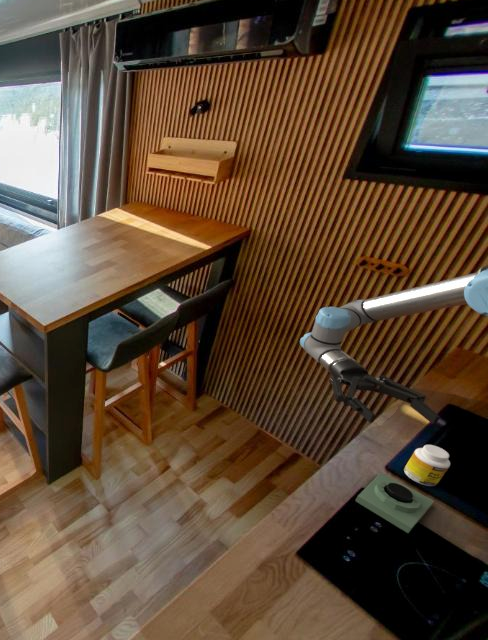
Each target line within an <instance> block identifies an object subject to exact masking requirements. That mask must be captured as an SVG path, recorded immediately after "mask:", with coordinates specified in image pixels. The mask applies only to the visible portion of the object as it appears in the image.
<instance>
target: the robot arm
mask: <svg viewBox="0 0 488 640" xmlns="http://www.w3.org/2000/svg"><path fill="white" fill-rule="evenodd" d="M464 305H468V306H469V307H470V308H471V309H472V310H474V311H475V312H476V313H478V314H480V315H484V316H486V317H488V265H484V266H481V267H480V268H479V270H478V271H476V272H473V273H468V274H464V275H461V276H460V275H459V276H456V277H452V278H448V279H445V280H440V281H437V282H432V283H428V284H424V285H420V286H415V287H412V288H411V287H410V288H407V289H403V290H399V291H396V292H391V293H387V294H383V295H379V296H375V297H371V298H370V297H369V298H367V299H357V300H353V301H350V302H348V303H346V304H344V305H342V306H340V307H336V306H324V307H322V308H320V309H319V311H318V313H317V314H316V316H315V320H314V324H313V327H312V330H311V332H307V333H305V334H304V335H303V336H301V338H300V340H299V344H300V346H301V347H302V349H303V350H304V351H305V352H306V353H307V355H309V356H311V357H312V359H314V360H315V361H316V362H317V363H319V364H320V365H321V366H322V367H323V368H324V369H325V370H326V371H327V372H328V373H330V374H331V375H330V378H329V380H328V383H329V384H330V385H331V386H332V392H333V397H334V401H335V402H337V403H342V405H344V406H346V407H350V408H351V409H352V410H353V411H355V412H358V413H359V414H360V415H361V416H362V417H363V418H364V419H365V420H366V421H367V422H368V423H374V421H375V420H376V417H377V415H376V414H375V413H374V412H373V411H372V410H371V409H369V407H367V406H366V405H365V404H364V403H363V402H362V401H361V400H360V399H359V398H358V397H354V395H355V392H356V390H357V391H360V392H364V391H369V392H374V393H377V394H383V395H386V396H389V397H392V398H394V399H397V400H399V401H403V402H404V403H407V404H410V405H409V407H411V408H412V409H413V410H415V411H416V412H417V413H418V414H419V415H421V416H422V417H423V418H424V419H426V420H427V421H428V422H429V423H430V424H432V425H437V424H438V422H439V420H440V419H441V416H440V415H439V414H437V413H436V412H435V411H434V410H433V409H432V408H431V407H430V406H429V405H428V404H427V403H425V401H426V398H427V396H426V395H424V394H422V393H420V392H418V391H416V390H414V389H411V388H409V387H408V386H405V385H403V384H401V383H399V382H396V381H395V380H392V379H391V378H390V377H388V376H386V375H384V374H382V375H380V376H379V377H375V376H373V375H371V374H369V372H368V370H367V369H366V367H364V366H363V365H362V364H360V363H359V361H357V360H356V359H354V358H353V357H352V356H351V355H349V354H348V353H347V352H345V350H343V349H342V348H341V345H342V343H343V341H344V337H345V335H346V333H348V332H350V331H352V330H354V329H356V328H358V327H360V326H362V325H366V324H371V323H376V322H381V321H385V320H390V319H391V320H392V319H396V318H400V317H406V316H411V315H416V314H422V313H426V312H427V313H428V312H431V311H438V310H442V309H448V308H453V307H458V306H464ZM342 384H343V385H345V386H347V387H348V390H347V393H346V395H344V392H343V388H342ZM377 385H378V387H377Z"/></svg>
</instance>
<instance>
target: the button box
mask: <svg viewBox="0 0 488 640" xmlns="http://www.w3.org/2000/svg"><path fill="white" fill-rule="evenodd" d="M389 483H396V484H400V485H402V486H404V487H406V488H407V489H409V490H410V491H411V492H412V494H413V498H412V499H411V501H410V502H409V503H403V502H399V501H397V500H395V499H393V498H392V497H390V496H389V495H388V494H387V493H386V491H385V489H386V487H387V485H388V484H389ZM354 501H355V502H356V503H358V504H359V505H361V506H363V507H364V508H365V509H367V510H369V511H370V512H372V513H374V514H376V515H377V516H379V517H381V518H382V519H384V520H385V521H387V522H388V523H390V524H392V525H393V526H395V527H396V528H398V529H400V530H402V531H403V532H405V533H407V534H409V533H410V532H411V531H412V530H413V528H415V526H416V525H417V524H418V522H419V521H420V520H421V519H422V518H423V517H424V515H425V514H426V513H427V512H428V510H429V509H430V508H431V507H432V505H433V504H434V503H435V500H433V499H431V498H430V497H427V496H426V495H424V494H422V493H420V492H418V491H417V490H415V489H413V488H411V487H410V486H407V485H405V484H404V483H402V482H400V481H398V480H396V479H394V478H392V477H391V476H389V475H388V474H387V475H386V474H385V473H383V472H379V473H378V474H377V476H375V478H374V479H372V481H370V482H369V484H368V485H367V486H366V487H365V488H364V489H363V490H362V491H361V492H360V493H359V494H358V495H357V497H356V498H355V500H354Z"/></svg>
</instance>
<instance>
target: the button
mask: <svg viewBox="0 0 488 640" xmlns="http://www.w3.org/2000/svg"><path fill="white" fill-rule="evenodd" d="M385 491H386V493H387V494H388V495H389V496H390V497H392V498H393V499H395V500H397V501H399V502H403V503H409V502H410V501H411V499H412V498H413V494H412V492H411V491H410V490H409V489H407V488H406V487H404V486H402V485H400V484H396V483H389V484H388V485H387V487H386V489H385Z"/></svg>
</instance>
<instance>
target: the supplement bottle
mask: <svg viewBox="0 0 488 640" xmlns="http://www.w3.org/2000/svg"><path fill="white" fill-rule="evenodd" d="M449 458H450V454H449V452H448V451H446V450H445V449H443V448H442V447H440V446H437V445H433V444H425V445H423V447H418V448H415V450H414V451H413V453H412V455H411V456H410V458H409V460H408V461H407V463H406V465H405V466H404V468H403V471H404V474H405V475H406V476H407V477H408V479H411V480H412V481H413V482H416V483H418V484H420V485H422V486H426V487H435V486H437V485H438V484H439V482H440V481H441V480H442V478H443V477H444V475H445V474H446V472H447V471H448V469H449V468H450V466H451V461H450V460H449Z"/></svg>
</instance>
